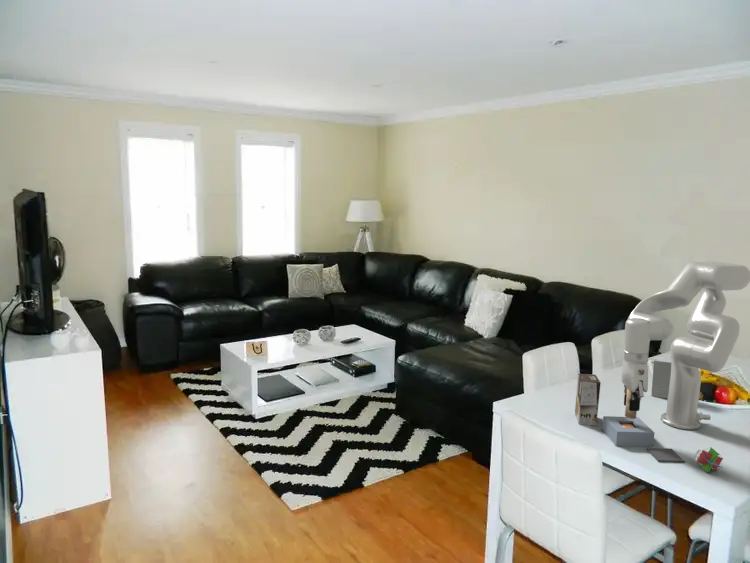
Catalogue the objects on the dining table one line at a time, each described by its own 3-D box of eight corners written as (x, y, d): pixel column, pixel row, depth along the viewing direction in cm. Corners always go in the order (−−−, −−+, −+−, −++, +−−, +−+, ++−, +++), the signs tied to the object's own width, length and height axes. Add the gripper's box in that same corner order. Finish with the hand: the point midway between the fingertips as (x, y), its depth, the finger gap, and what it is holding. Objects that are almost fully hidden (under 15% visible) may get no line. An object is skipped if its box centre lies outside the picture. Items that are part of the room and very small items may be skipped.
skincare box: (674, 395, 223) (678, 358, 221) (673, 400, 218) (677, 363, 215) (651, 391, 228) (655, 354, 225) (649, 396, 222) (653, 359, 219)
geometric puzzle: (720, 458, 167) (706, 438, 166) (734, 469, 160) (720, 448, 159) (699, 470, 168) (686, 451, 167) (712, 482, 161) (698, 462, 160)
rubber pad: (671, 450, 176) (671, 448, 176) (684, 462, 168) (684, 460, 168) (646, 449, 176) (646, 447, 176) (658, 461, 168) (658, 460, 168)
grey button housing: (636, 430, 190) (638, 417, 189) (652, 446, 178) (654, 432, 177) (602, 429, 190) (603, 416, 189) (615, 445, 179) (617, 431, 178)
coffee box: (597, 426, 193) (601, 382, 190) (578, 424, 195) (581, 381, 192) (592, 415, 202) (596, 374, 199) (574, 413, 203) (577, 372, 201)
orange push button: (630, 434, 186) (631, 423, 185) (635, 439, 182) (636, 428, 181) (618, 433, 186) (619, 423, 186) (623, 439, 182) (624, 428, 182)
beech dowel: (633, 414, 185) (635, 383, 183) (637, 418, 182) (640, 387, 180) (623, 414, 185) (625, 383, 183) (627, 418, 182) (630, 387, 180)
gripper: (659, 364, 171) (654, 418, 175) (636, 348, 187) (632, 398, 191) (634, 364, 171) (630, 418, 175) (614, 348, 188) (610, 398, 191)
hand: (631, 407), depth 183 cm, fingers closed on beech dowel, 3 cm apart
